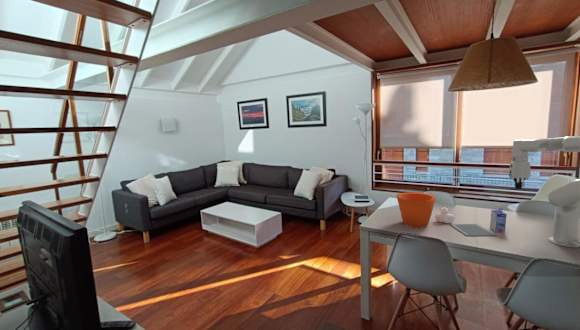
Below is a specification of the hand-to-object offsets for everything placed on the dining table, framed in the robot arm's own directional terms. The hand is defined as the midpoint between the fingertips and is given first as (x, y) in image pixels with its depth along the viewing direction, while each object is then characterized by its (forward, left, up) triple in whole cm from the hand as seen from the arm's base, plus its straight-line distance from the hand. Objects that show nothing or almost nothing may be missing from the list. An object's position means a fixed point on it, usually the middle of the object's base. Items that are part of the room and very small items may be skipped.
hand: (518, 188), depth 172 cm
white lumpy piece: (+17, +36, -27) cm, 48 cm away
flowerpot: (+14, +57, -27) cm, 65 cm away
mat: (0, +26, -27) cm, 38 cm away
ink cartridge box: (0, +11, -27) cm, 29 cm away
